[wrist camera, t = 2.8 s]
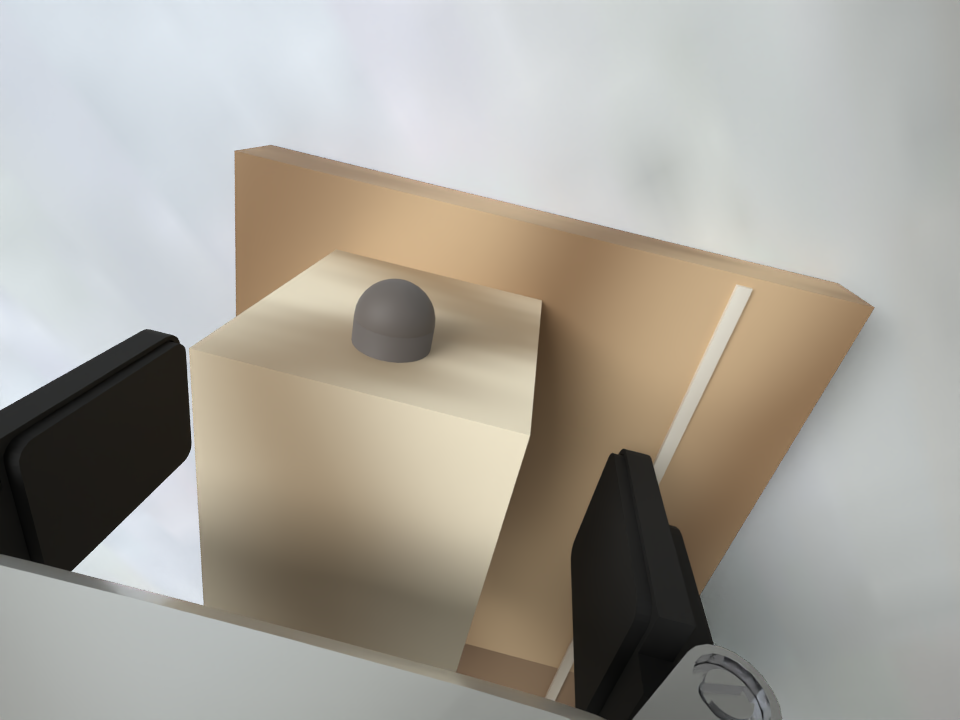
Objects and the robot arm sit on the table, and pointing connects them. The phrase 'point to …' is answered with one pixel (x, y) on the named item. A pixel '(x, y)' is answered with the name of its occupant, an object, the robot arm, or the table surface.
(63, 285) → the table surface
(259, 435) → the beige block with knob
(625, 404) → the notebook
